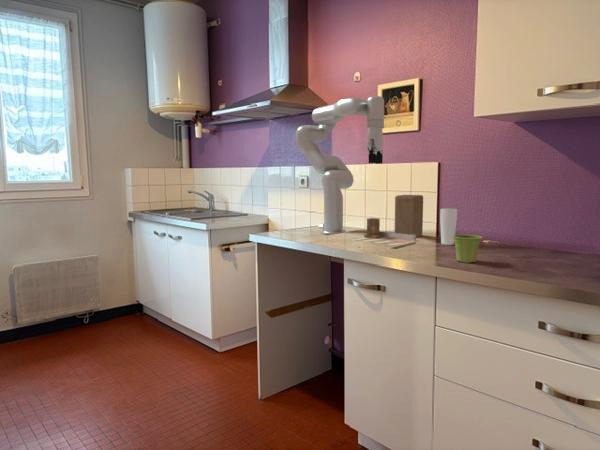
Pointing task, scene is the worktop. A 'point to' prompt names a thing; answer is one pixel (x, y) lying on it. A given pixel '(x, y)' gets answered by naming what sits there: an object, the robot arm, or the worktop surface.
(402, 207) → the wooden block
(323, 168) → the robot arm
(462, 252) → the plant pot
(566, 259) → the worktop surface
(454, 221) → the drinking glass
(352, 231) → the worktop surface
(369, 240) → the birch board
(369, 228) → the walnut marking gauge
